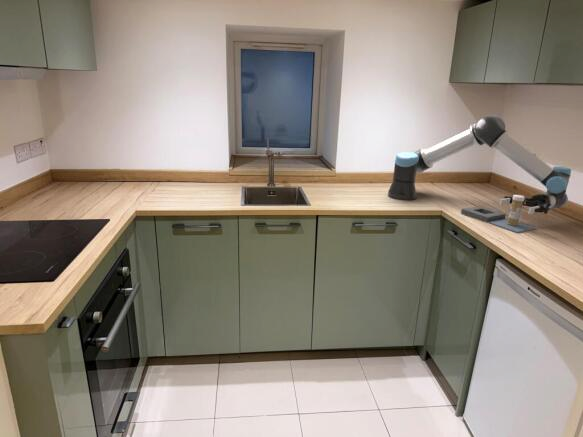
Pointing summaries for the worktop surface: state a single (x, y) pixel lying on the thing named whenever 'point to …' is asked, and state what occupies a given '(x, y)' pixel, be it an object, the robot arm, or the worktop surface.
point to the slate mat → (516, 229)
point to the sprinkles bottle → (515, 210)
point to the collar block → (483, 213)
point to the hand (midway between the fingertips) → (514, 206)
